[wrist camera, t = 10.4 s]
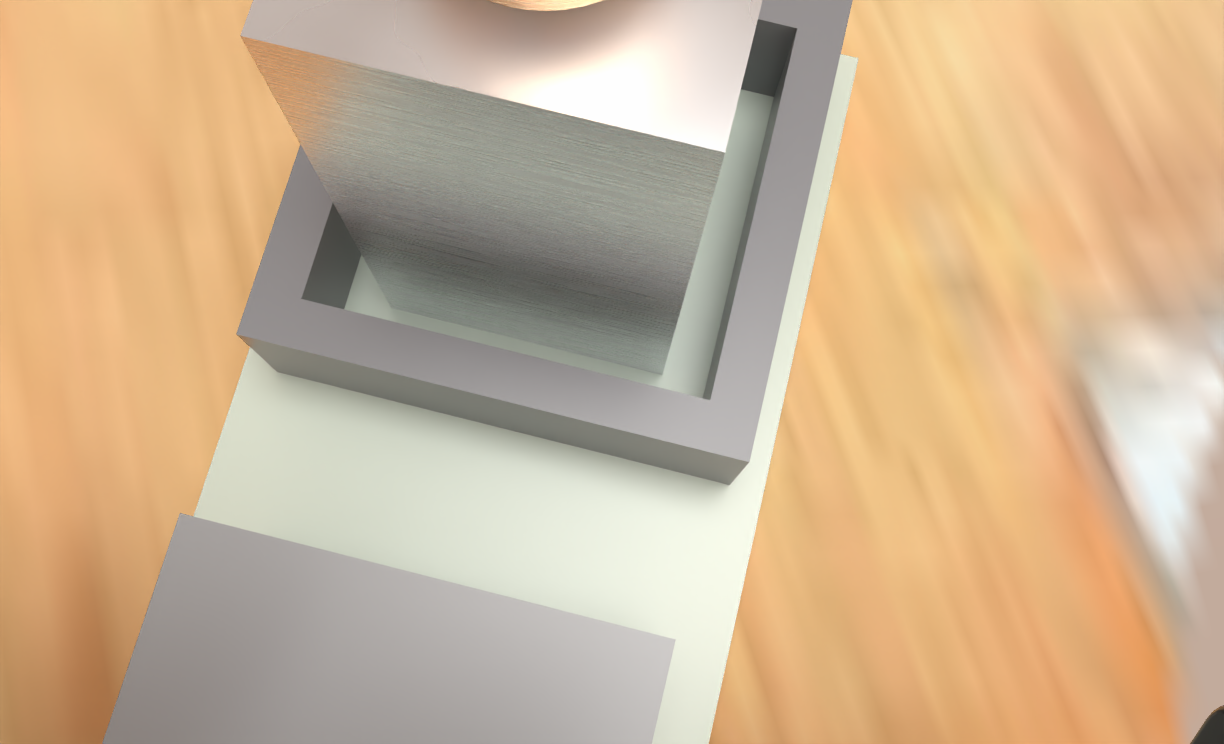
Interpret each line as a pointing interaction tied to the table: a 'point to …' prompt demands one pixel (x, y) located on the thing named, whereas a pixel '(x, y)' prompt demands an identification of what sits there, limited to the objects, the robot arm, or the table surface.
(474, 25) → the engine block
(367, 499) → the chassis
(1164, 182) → the table surface
